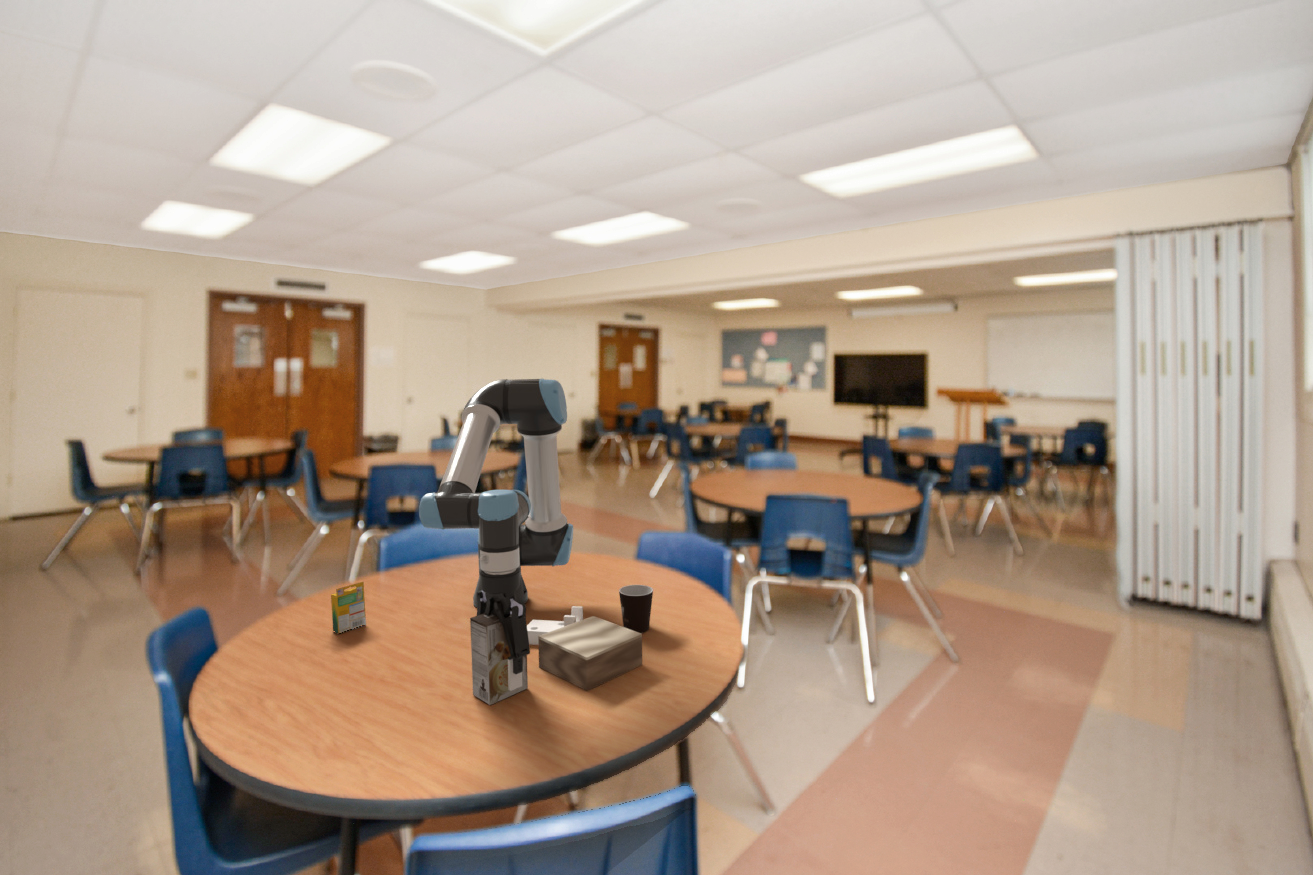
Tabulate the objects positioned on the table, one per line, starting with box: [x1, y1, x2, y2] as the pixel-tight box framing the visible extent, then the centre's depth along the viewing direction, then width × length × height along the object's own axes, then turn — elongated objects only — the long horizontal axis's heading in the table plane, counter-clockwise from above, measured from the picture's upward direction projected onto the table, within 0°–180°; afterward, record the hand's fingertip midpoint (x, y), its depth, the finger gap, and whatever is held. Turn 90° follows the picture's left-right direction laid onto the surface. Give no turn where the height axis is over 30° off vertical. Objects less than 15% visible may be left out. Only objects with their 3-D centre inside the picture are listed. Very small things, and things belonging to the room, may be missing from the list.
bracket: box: [527, 605, 584, 646], centre depth 150 cm, size 13×7×8 cm, turn 81°
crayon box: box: [330, 581, 367, 634], centre depth 158 cm, size 7×3×12 cm, turn 145°
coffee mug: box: [618, 584, 654, 634], centre depth 158 cm, size 12×9×10 cm
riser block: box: [537, 615, 643, 692], centre depth 136 cm, size 16×16×7 cm
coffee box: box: [469, 613, 529, 706], centre depth 124 cm, size 9×6×16 cm
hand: (502, 680), depth 124 cm, fingers open, 8 cm apart
